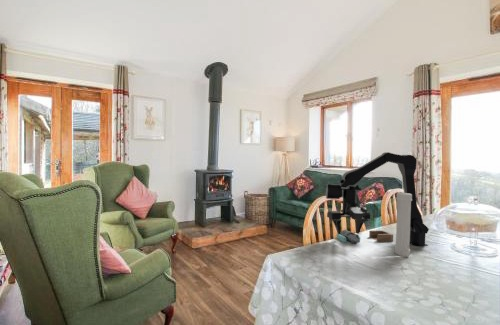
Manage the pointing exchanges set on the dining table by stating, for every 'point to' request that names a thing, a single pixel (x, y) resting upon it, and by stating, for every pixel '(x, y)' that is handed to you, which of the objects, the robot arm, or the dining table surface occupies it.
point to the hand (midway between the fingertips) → (348, 233)
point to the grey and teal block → (350, 236)
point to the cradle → (343, 238)
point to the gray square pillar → (403, 223)
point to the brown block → (381, 235)
